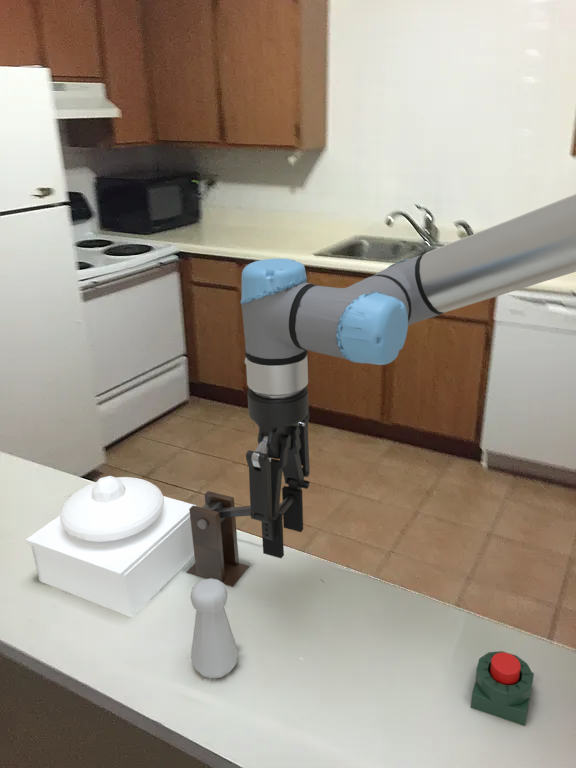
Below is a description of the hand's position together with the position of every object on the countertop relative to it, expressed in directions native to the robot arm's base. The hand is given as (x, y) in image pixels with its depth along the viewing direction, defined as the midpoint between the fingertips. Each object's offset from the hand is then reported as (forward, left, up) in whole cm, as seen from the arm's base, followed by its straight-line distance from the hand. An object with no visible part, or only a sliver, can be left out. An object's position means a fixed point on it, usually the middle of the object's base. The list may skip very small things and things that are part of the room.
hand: (283, 540), depth 92 cm
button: (-31, +5, -6) cm, 32 cm away
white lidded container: (+25, +5, -10) cm, 28 cm away
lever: (+6, 0, +2) cm, 6 cm away
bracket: (+11, 0, -10) cm, 15 cm away
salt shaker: (+2, +16, -10) cm, 18 cm away
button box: (-31, +6, -10) cm, 33 cm away
